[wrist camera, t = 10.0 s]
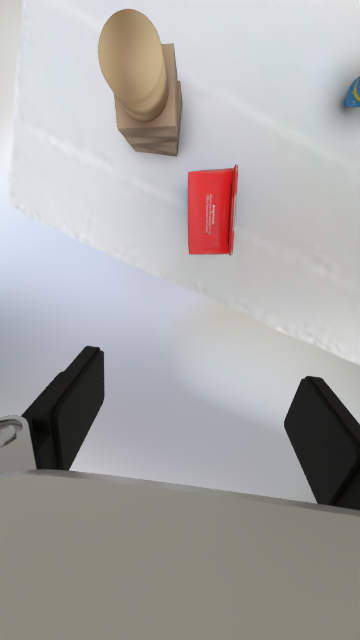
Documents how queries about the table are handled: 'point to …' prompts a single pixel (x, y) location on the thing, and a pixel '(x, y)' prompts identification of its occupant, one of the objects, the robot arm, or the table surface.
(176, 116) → the top block
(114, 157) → the table surface
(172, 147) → the bottom block
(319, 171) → the table surface
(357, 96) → the ornament
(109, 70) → the beige knob
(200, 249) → the ink box
